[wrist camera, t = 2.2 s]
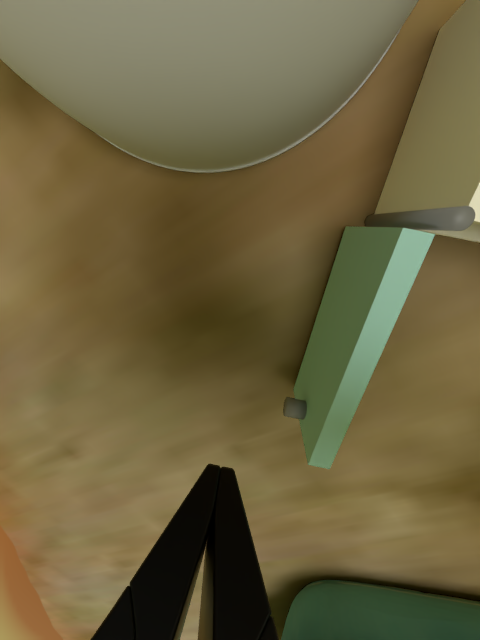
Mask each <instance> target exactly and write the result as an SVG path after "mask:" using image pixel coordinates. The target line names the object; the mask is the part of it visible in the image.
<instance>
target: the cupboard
mask: <svg viewBox="0 0 480 640" xmlns="http://www.w3.org/2000/svg"><path fill="white" fill-rule="evenodd" d="M365 225H366V227H398V228H408V229H413V230H418V231H423V232H428V233H433V234H437V235H442V236H447V237H452V238H457V239H462V240H467V241H472V242H477V243H480V0H466V1H465V2H464V3H463V5H462V6H461V7H460V8H459V9H458V10H457V11H456V12H455V13H454V14H453V15H452V17H451V18H450V19H449V20H448V21H447V22H446V23H445V24H444V25H443V26H442V27H441V29H440V30H439V32H438V35H437V38H436V41H435V44H434V46H433V49H432V52H431V55H430V58H429V60H428V63H427V66H426V69H425V72H424V75H423V77H422V80H421V83H420V86H419V89H418V92H417V94H416V97H415V100H414V103H413V106H412V108H411V111H410V114H409V117H408V120H407V123H406V125H405V128H404V131H403V134H402V137H401V140H400V142H399V145H398V148H397V151H396V154H395V156H394V159H393V162H392V165H391V168H390V171H389V173H388V176H387V179H386V182H385V185H384V188H383V190H382V193H381V196H380V199H379V202H378V204H377V207H376V210H375V213H374V214H372V215H369V216H368V217H367V218H366V219H365Z"/></svg>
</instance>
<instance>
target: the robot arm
mask: <svg viewBox="0 0 480 640" xmlns="http://www.w3.org/2000/svg"><path fill="white" fill-rule="evenodd" d="M206 542H207V543H206ZM205 547H206V550H205ZM204 551H205V560H204V571H203V583H202V595H201V607H200V619H199V631H198V640H279V638H278V634H277V630H276V627H275V623H274V619H273V617H272V616H270V615H271V608H270V604H269V601H268V597H267V593H266V589H265V585H264V582H263V578H262V574H261V570H260V566H259V563H258V559H257V555H256V551H255V547H254V544H253V540H252V536H251V532H250V528H249V525H248V521H247V517H246V513H245V509H244V505H243V502H242V498H241V494H240V490H239V486H238V483H237V479H236V475H235V471H234V470H233V469H232V468H228V467H221V468H220V466H218V465H213V464H208V465H207V466H206V468H205V469H204V471H203V472H202V474H201V475H200V477H199V478H198V480H197V482H196V483H195V485H194V486H193V488H192V489H191V491H190V492H189V494H188V495H187V497H186V498H185V500H184V501H183V503H182V504H181V506H180V507H179V509H178V510H177V512H176V513H175V515H174V516H173V518H172V519H171V521H170V522H169V524H168V525H167V527H166V528H165V530H164V531H163V533H162V535H161V536H160V538H159V539H158V541H157V542H156V544H155V545H154V547H153V548H152V550H151V551H150V553H149V554H148V556H147V557H146V559H145V560H144V562H143V563H142V565H141V566H140V568H139V569H138V571H137V572H136V574H135V575H134V577H133V578H132V580H131V581H130V586H127V587H126V589H125V590H124V592H123V593H122V595H121V596H120V598H119V599H118V601H117V602H116V604H115V605H114V607H113V608H112V610H111V611H110V613H109V614H108V615H107V617H106V618H105V620H104V621H103V623H102V624H101V626H100V627H99V628H98V630H97V631H96V633H95V634H94V636H93V637H92V638H91V640H180V637H181V633H182V630H183V626H184V623H185V619H186V616H187V612H188V608H189V605H190V601H191V598H192V594H193V591H194V587H195V584H196V580H197V576H198V573H199V569H200V566H201V562H202V559H203V555H204Z"/></svg>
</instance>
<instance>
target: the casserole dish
mask: <svg viewBox="0 0 480 640" xmlns="http://www.w3.org/2000/svg"><path fill="white" fill-rule="evenodd" d="M281 640H480V602H478V601H472V600H466V599H461V598H455V597H449V596H443V595H436V594H430V593H428V594H425V593H422V592H419V591H413V590H408V589H401V588H395V587H389V586H381V585H374V584H367V583H359V582H351V581H341V580H321V581H316V582H312V583H310V584H308V585H307V586H305V587H304V588H303V589H302V590H301V591H300V592H299V593H298V594H297V596H296V597H295V599H294V601H293V602H292V605H291V607H290V610H289V613H288V615H287V619H286V622H285V626H284V630H283V634H282V638H281Z"/></svg>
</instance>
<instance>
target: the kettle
mask: <svg viewBox="0 0 480 640" xmlns="http://www.w3.org/2000/svg"><path fill="white" fill-rule="evenodd" d="M417 2H418V0H0V59H1V60H2V61H3V62H4V63H5V64H6V65H7V66H8V67H10V68H11V69H12V70H13V71H14V72H15V73H16V74H17V75H19V76H20V77H21V78H22V79H23V80H24V81H26V82H27V83H28V84H29V85H30V86H31V87H33V88H34V89H35V90H36V91H37V92H39V93H40V94H41V95H43V96H44V97H45V98H46V99H48V100H49V101H50V102H52V103H53V104H54V105H55V106H57V107H58V108H59V109H61V110H62V111H64V112H65V113H66V114H68V115H69V116H71V117H72V118H74V119H75V120H76V121H78V122H79V123H81V124H82V125H84V126H85V127H87V128H89V129H90V130H92V131H93V132H95V133H96V134H98V135H99V136H100V137H102V138H103V139H105V140H106V141H107V142H109V143H111V144H112V145H114V146H115V147H117V148H119V149H121V150H122V151H124V152H126V153H128V154H130V155H132V156H134V157H136V158H138V159H141V160H143V161H146V162H148V163H151V164H154V165H157V166H160V167H164V168H168V169H172V170H177V171H184V172H193V173H216V172H226V171H232V170H237V169H242V168H246V167H249V166H253V165H256V164H259V163H261V162H264V161H267V160H269V159H271V158H274V157H276V156H278V155H280V154H282V153H284V152H286V151H287V150H289V149H291V148H293V147H294V146H296V145H298V144H299V143H301V142H302V141H304V140H305V139H307V138H308V137H309V136H311V135H312V134H313V133H315V132H316V131H317V130H319V129H320V128H321V127H322V126H323V125H325V124H326V123H327V122H328V121H329V120H330V119H331V118H333V117H334V116H335V115H336V114H337V113H338V112H339V111H340V110H341V109H342V108H343V107H344V106H345V105H346V104H347V103H348V102H349V100H350V99H351V98H352V97H353V96H354V95H355V94H356V93H357V91H358V90H359V89H360V88H361V87H362V85H363V84H364V83H365V82H366V80H367V79H368V78H369V76H370V75H371V74H372V72H373V71H374V70H375V68H376V67H377V65H378V64H379V63H380V61H381V60H382V58H383V57H384V55H385V54H386V52H387V51H388V49H389V47H390V46H391V44H392V43H393V41H394V39H395V38H396V36H397V34H398V32H399V31H400V29H401V27H402V26H403V24H404V23H405V21H406V19H407V18H408V16H409V15H410V13H411V12H412V10H413V8H414V7H415V5H416V4H417Z"/></svg>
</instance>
